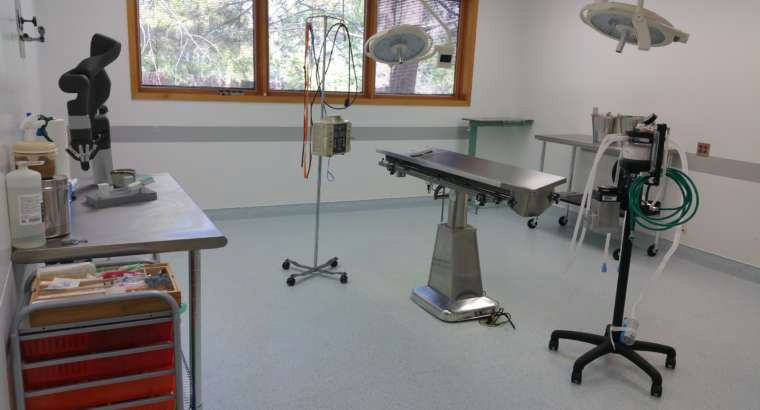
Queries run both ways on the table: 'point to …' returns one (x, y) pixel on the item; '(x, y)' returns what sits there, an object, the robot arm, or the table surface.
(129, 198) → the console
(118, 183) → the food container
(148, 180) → the rocker
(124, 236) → the table surface
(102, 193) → the white slider
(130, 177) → the grey slider
